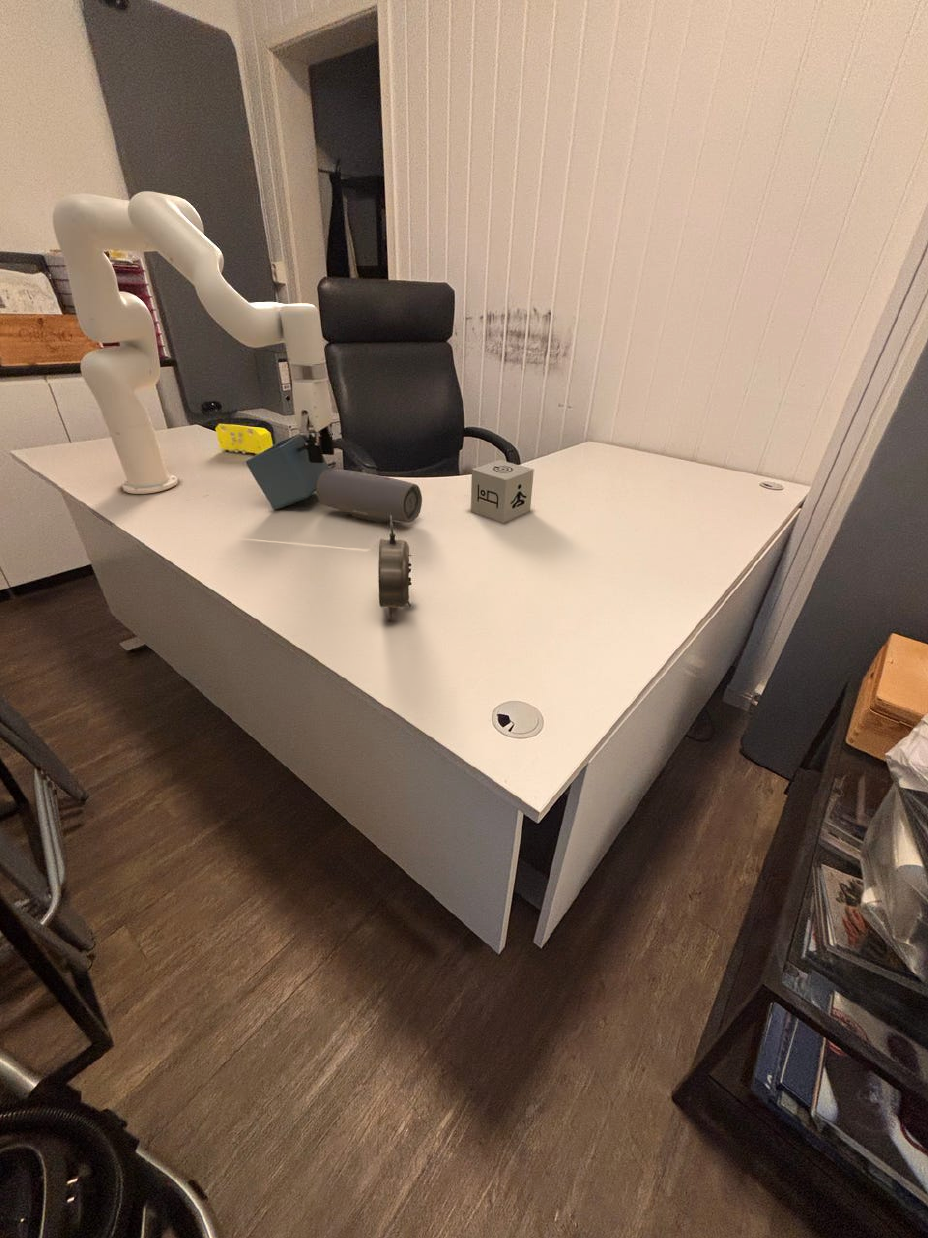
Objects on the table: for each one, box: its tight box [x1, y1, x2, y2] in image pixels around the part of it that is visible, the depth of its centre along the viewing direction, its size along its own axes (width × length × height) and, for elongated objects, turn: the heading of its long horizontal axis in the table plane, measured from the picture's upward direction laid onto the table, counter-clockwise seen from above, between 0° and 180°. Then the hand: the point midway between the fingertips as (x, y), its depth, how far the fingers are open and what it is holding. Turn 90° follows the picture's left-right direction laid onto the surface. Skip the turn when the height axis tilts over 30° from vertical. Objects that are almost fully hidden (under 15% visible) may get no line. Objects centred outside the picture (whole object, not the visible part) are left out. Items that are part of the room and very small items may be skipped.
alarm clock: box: [377, 516, 412, 623], centre depth 81 cm, size 11×5×16 cm, turn 5°
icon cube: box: [470, 459, 535, 524], centre depth 117 cm, size 10×10×10 cm
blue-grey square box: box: [244, 433, 330, 511], centre depth 119 cm, size 12×15×14 cm
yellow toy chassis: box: [214, 423, 274, 456], centre depth 155 cm, size 16×6×8 cm, turn 71°
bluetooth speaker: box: [315, 468, 423, 523], centre depth 113 cm, size 23×9×10 cm, turn 65°
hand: (322, 457), depth 117 cm, fingers closed on blue-grey square box, 5 cm apart
